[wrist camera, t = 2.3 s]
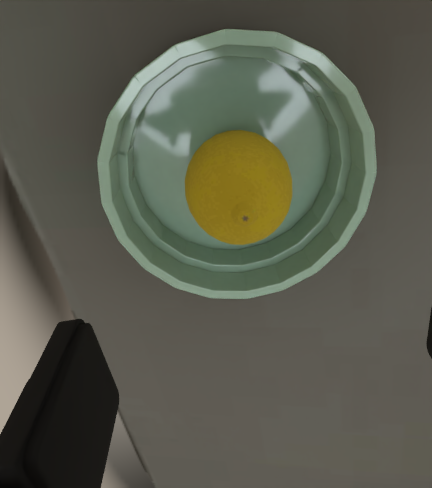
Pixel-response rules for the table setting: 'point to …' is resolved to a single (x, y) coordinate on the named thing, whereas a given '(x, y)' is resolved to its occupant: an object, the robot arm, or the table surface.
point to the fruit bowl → (225, 119)
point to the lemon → (238, 187)
